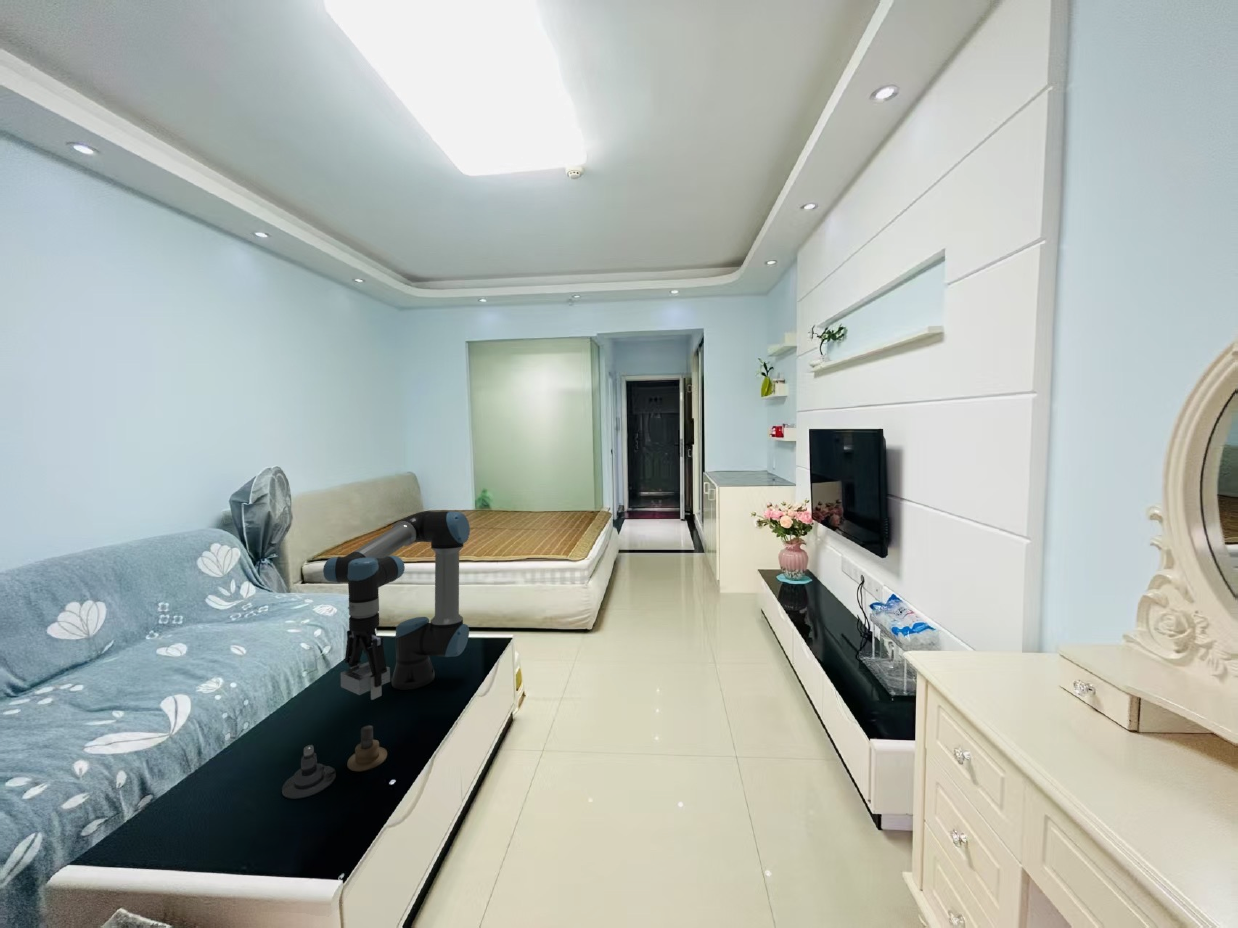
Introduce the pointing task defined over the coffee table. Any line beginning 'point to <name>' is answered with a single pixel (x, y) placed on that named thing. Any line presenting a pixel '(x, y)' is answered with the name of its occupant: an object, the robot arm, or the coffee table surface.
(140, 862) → the coffee table surface
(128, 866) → the coffee table surface
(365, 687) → the collar
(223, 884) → the coffee table surface
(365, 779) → the coffee table surface
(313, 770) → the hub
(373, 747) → the stand
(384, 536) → the robot arm
